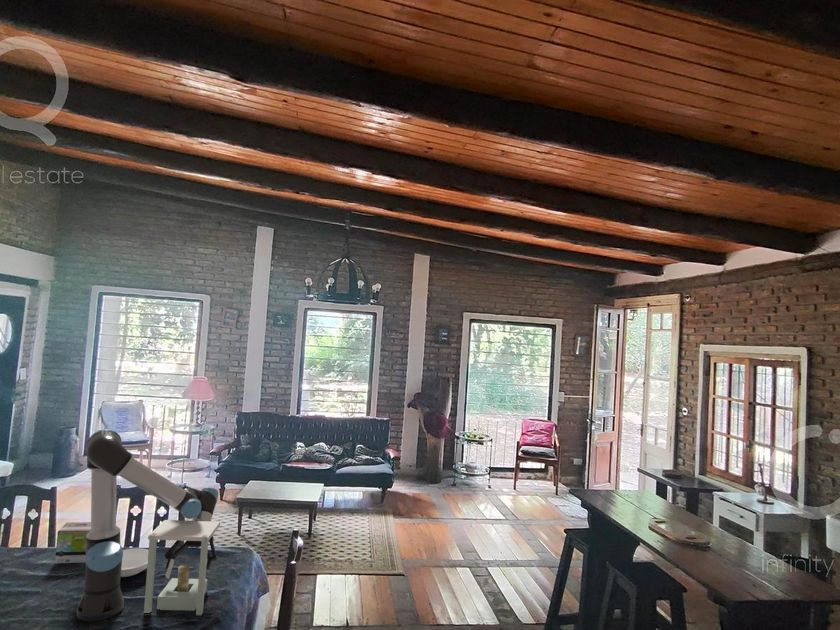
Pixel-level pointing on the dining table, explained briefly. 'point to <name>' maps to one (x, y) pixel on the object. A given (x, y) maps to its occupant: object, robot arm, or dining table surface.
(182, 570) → the dowel
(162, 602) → the socket
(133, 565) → the bowl
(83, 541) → the tea box
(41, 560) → the dining table surface
